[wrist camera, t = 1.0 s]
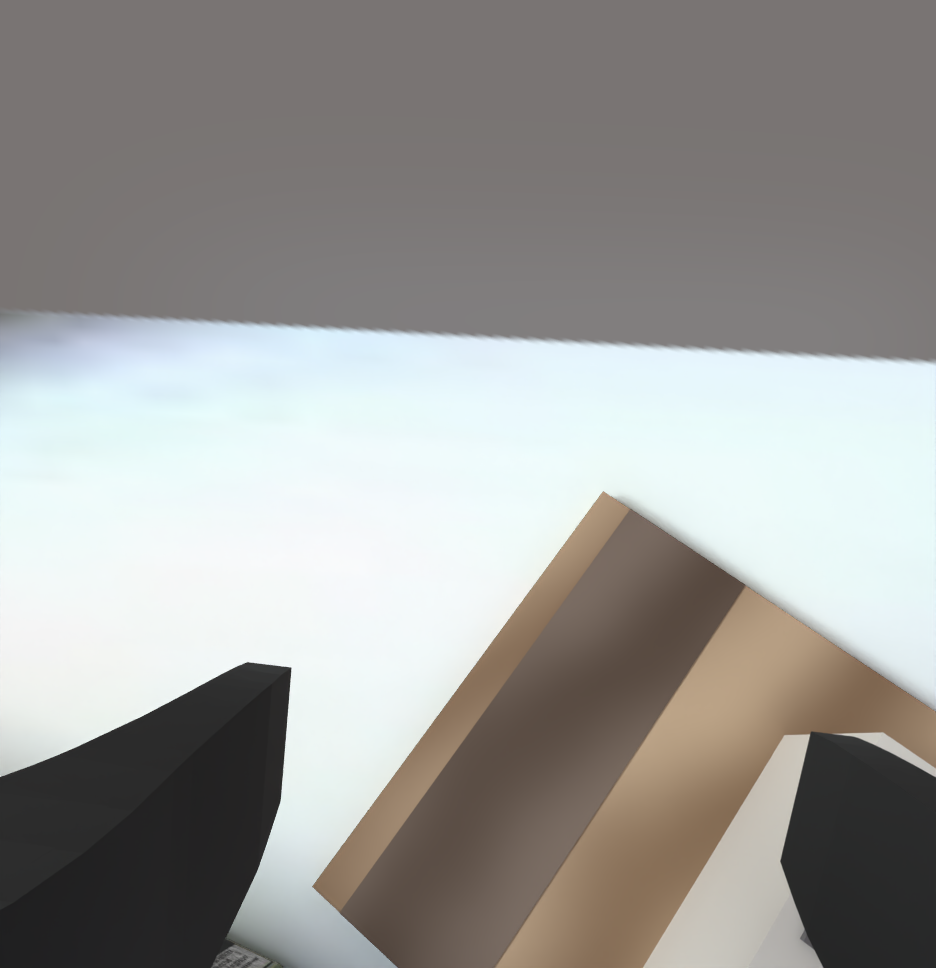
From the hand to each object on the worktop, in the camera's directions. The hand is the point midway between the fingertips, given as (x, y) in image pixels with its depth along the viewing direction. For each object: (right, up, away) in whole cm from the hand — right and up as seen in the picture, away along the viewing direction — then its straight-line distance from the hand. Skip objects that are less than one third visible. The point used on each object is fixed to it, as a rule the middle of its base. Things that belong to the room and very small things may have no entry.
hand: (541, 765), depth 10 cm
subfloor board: (+5, -6, +10) cm, 13 cm away
